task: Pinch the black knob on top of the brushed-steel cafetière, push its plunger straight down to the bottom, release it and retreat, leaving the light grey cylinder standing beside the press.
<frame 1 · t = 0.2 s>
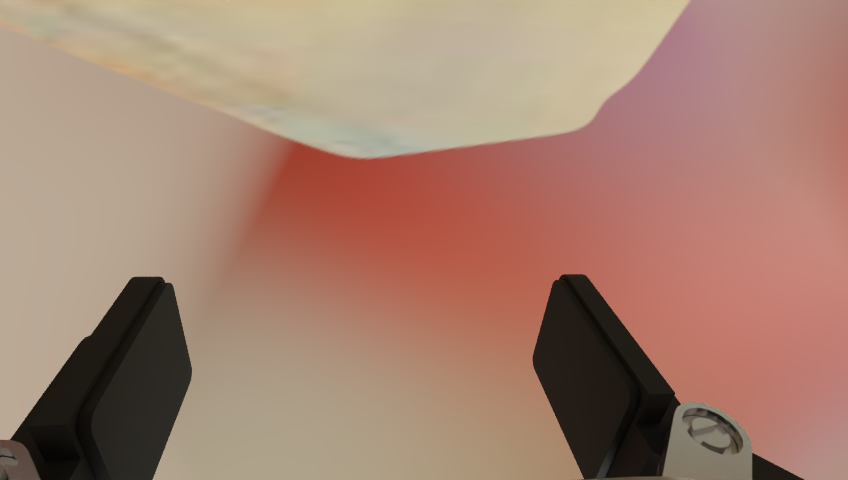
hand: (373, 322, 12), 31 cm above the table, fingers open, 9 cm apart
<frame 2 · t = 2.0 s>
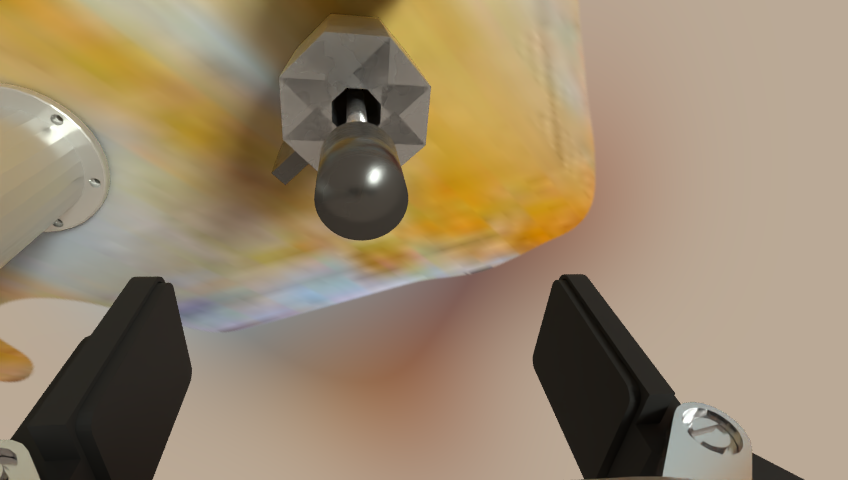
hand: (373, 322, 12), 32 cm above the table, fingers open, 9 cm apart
octagonal faceted vessel: (353, 74, 39), on the table
plunger: (357, 133, 25), point 16 cm above the table, slide at 0.0 cm
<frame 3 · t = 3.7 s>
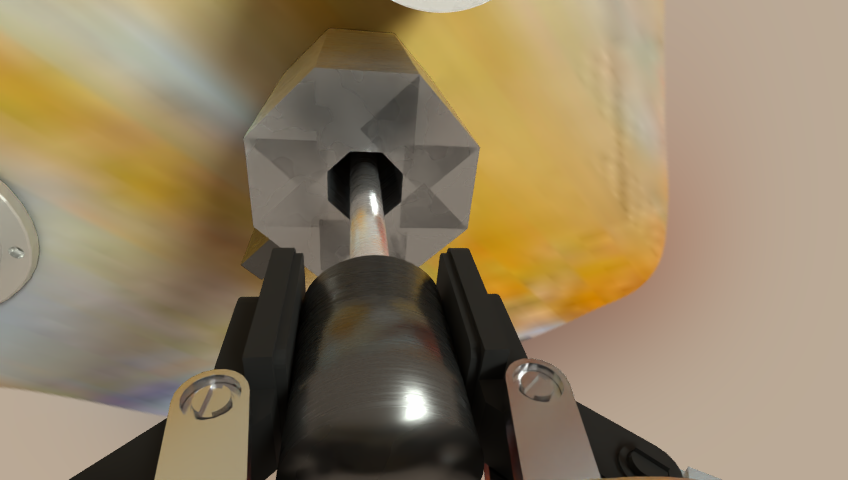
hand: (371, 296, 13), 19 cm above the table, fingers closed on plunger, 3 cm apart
octagonal faceted vessel: (360, 108, 29), on the table
plunger: (368, 236, 15), point 16 cm above the table, slide at 0.0 cm, touching gripper
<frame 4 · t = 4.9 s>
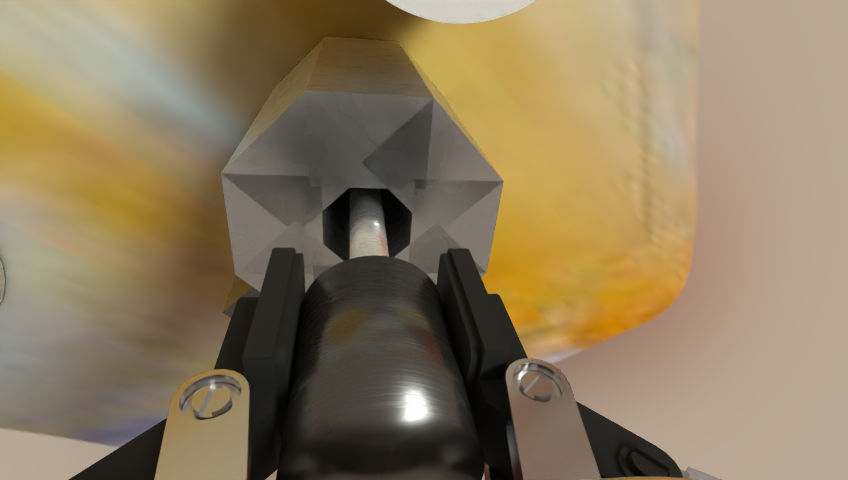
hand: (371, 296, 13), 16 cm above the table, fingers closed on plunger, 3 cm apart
octagonal faceted vessel: (361, 125, 26), on the table
plunger: (368, 236, 15), point 13 cm above the table, slide at 3.4 cm, touching gripper
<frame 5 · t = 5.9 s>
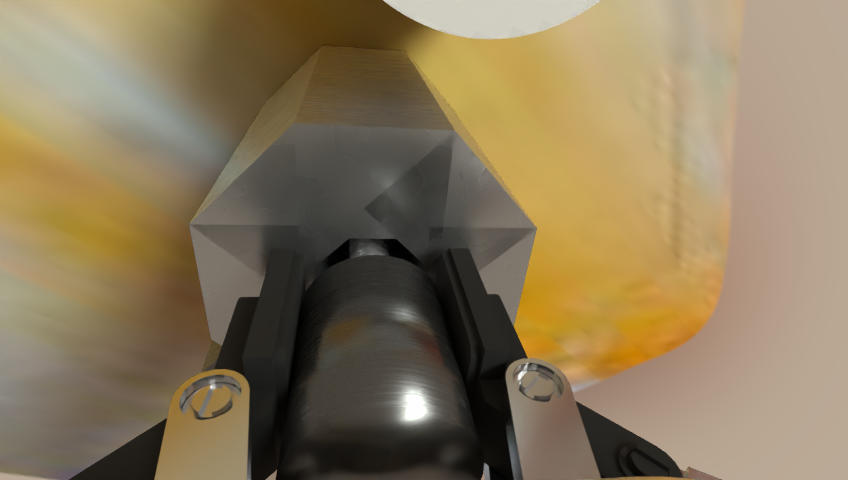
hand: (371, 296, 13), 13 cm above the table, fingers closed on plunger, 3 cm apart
octagonal faceted vessel: (362, 144, 23), on the table
plunger: (368, 236, 15), point 9 cm above the table, slide at 6.7 cm, touching gripper
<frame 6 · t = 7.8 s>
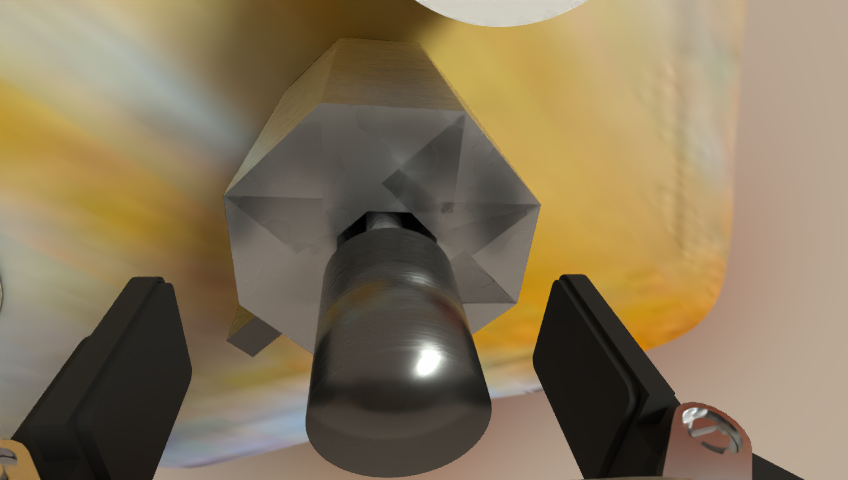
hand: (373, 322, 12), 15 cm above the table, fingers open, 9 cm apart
octagonal faceted vessel: (376, 132, 24), on the table
plunger: (383, 216, 16), point 9 cm above the table, slide at 6.5 cm
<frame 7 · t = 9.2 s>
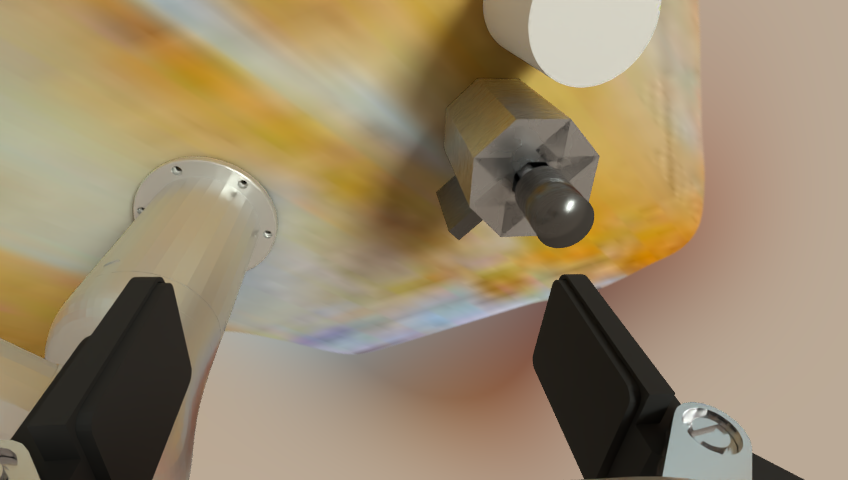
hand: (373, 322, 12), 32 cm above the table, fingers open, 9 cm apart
octagonal faceted vessel: (492, 128, 43), on the table
light grey cylinder: (531, 1, 38), on the table
plunger: (522, 168, 35), point 9 cm above the table, slide at 6.5 cm
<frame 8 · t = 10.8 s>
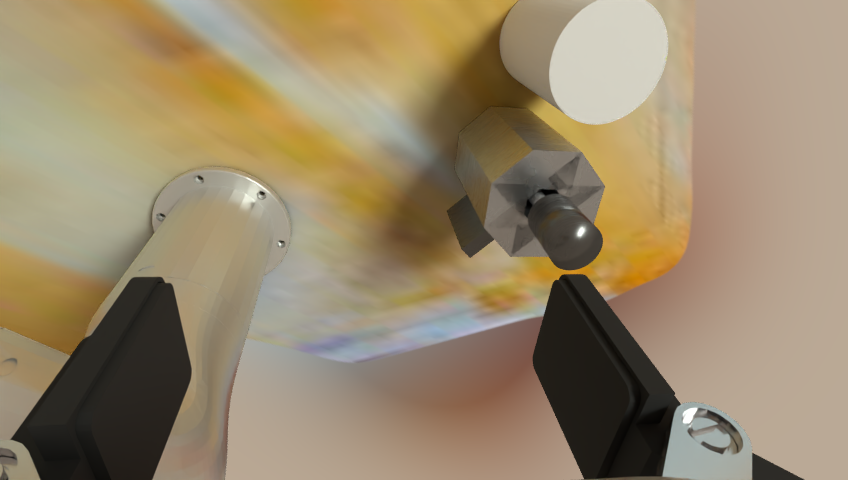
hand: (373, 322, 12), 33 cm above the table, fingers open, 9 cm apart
octagonal faceted vessel: (501, 153, 46), on the table
light grey cylinder: (543, 38, 41), on the table
plunger: (533, 193, 38), point 9 cm above the table, slide at 6.5 cm
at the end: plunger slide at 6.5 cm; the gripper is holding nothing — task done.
